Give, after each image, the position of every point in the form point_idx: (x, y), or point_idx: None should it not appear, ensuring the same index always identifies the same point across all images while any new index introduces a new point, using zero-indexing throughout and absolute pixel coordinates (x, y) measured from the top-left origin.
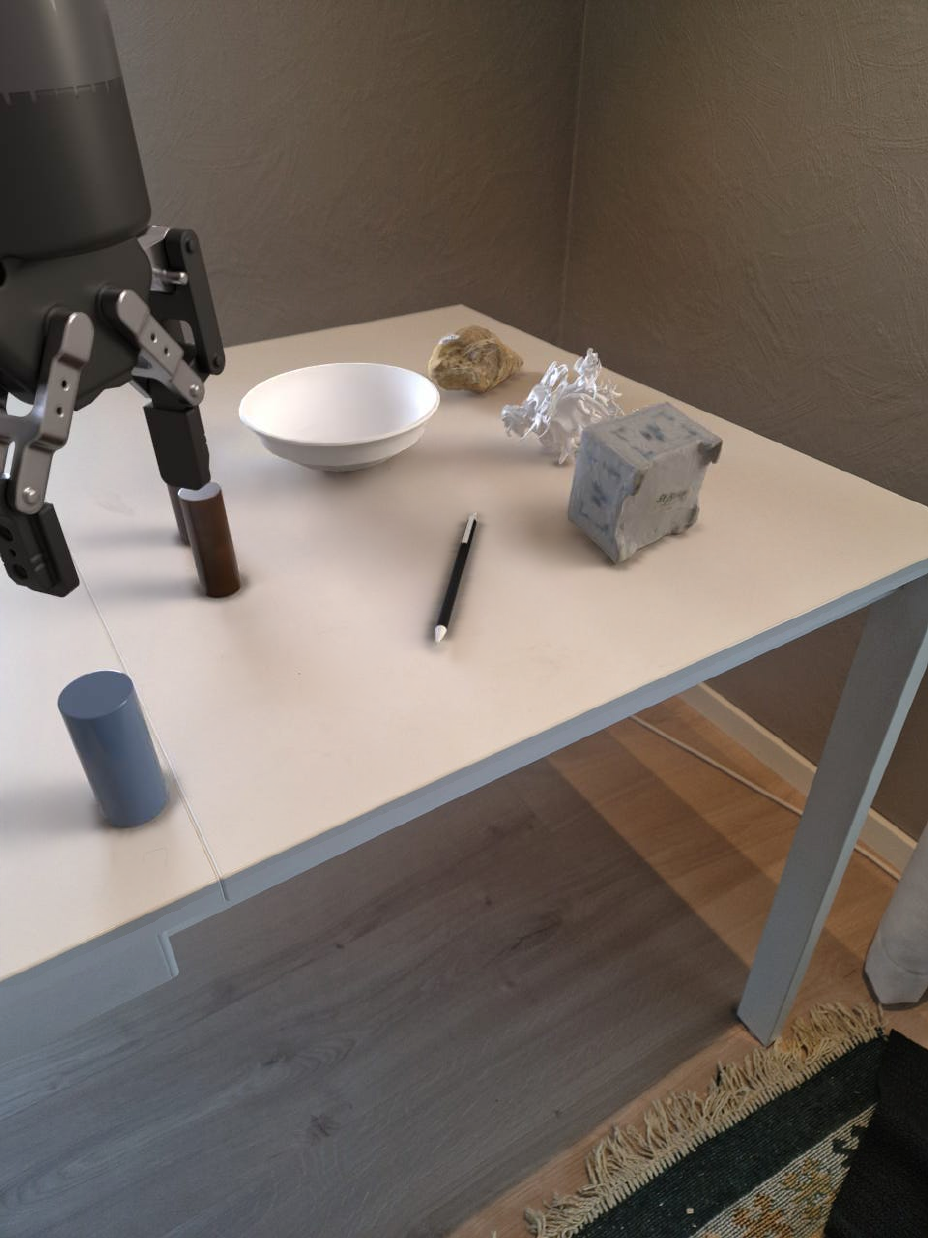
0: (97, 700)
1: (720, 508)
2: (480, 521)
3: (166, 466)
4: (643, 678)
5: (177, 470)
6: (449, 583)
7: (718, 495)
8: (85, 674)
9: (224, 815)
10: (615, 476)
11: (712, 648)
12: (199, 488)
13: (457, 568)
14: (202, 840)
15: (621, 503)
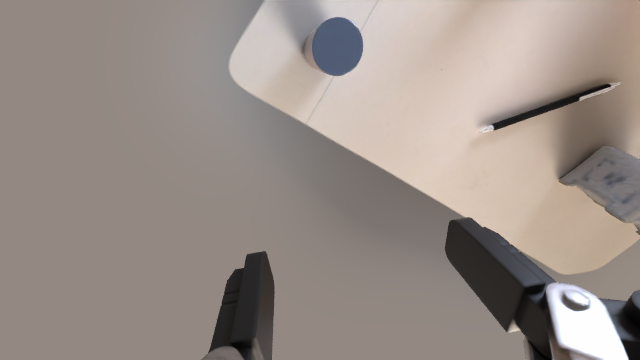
0: (332, 56)
1: None
2: None
3: (462, 239)
4: None
5: (459, 248)
6: (534, 111)
7: None
8: (350, 21)
9: (335, 103)
10: (624, 199)
11: None
12: (446, 252)
13: (550, 108)
14: (318, 103)
15: (601, 196)
